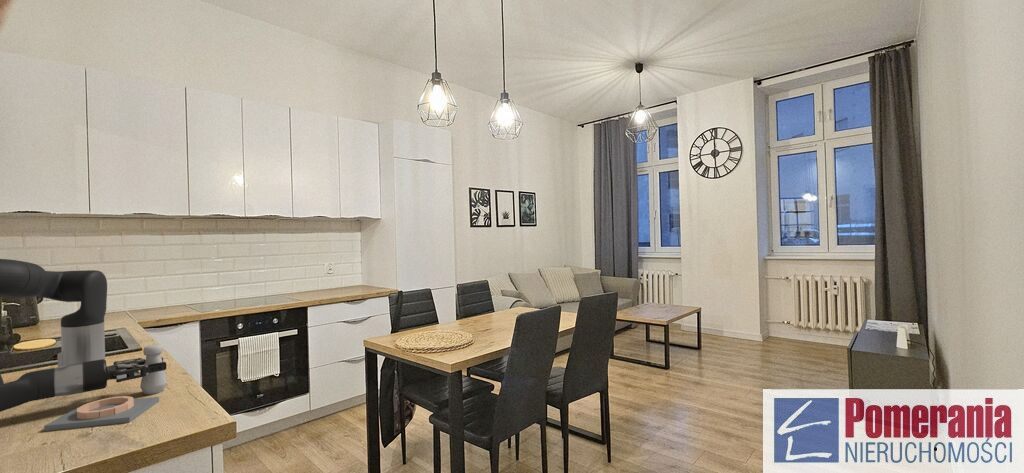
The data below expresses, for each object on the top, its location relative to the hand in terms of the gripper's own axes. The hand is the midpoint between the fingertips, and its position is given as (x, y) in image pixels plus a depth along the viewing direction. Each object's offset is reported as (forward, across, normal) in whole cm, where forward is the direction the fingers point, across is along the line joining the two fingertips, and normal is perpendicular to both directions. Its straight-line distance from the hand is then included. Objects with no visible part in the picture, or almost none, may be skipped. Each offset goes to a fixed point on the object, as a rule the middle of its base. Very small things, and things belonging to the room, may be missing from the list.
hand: (164, 363), depth 122 cm
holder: (-12, -12, +8) cm, 19 cm away
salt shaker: (-2, 0, +8) cm, 8 cm away
